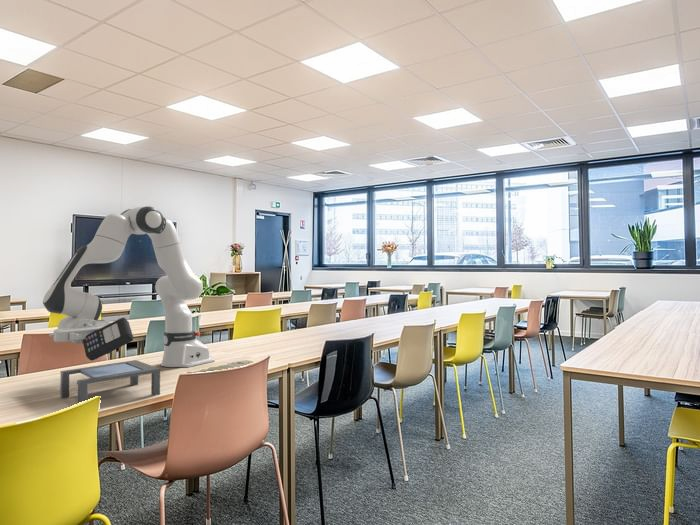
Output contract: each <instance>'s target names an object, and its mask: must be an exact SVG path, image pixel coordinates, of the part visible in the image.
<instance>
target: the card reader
mask: <svg viewBox="0 0 700 525" xmlns="http://www.w3.org/2000/svg"><path fill="white" fill-rule="evenodd" d="M133 341H134V335H133V331H132V328H131V326H130V322H129V321H128V319H127V318H125V317H121V318H119V319H117V320H114V321H113V322H111V323H110V324H108V325H106V326H104V327H102V328H100V329H98V330H96V331H94V332H92V333H90V334H88V335H87V336H86V337H85V339H84V340H83V344H82V345H83V348H84V353H85V356H86V358H87V360H90V361H95V360H97V359H99V358H101V357H103V356H106V355H107V354H109V353H112V352H113V351H115V350H117V349H119V348H121V347H123V346H125V345H128V344H129V343H131V342H133Z"/></svg>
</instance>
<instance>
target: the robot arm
mask: <svg viewBox="0 0 700 525" xmlns="http://www.w3.org/2000/svg"><path fill="white" fill-rule="evenodd" d="M131 235H140V236H141V235H147V236H148V237H149V238H150V240H151V243H152V247H153V251H154V253H155V259H156V261H157V262H156V263H157V265H158V266H159V268H161V269H162V270H163V272H164V273H165V275H163V276H161V277H159V278H158V279H157V281H156V283H155V286H154V288H155V291H156V294H157V295H158V296H159V297H160V300H161V301H160V302H161V304H162V307H163V310H164V330H165V331H164V333H163V344H164V348H163V356H162V359H161V362H160V363H161V364H160V366H162V367H165V368H166V367H168V368H190V367H194V366H200V365H204V364H208V363H213V362H215V357H213V356H211V355H210V350H209V348H208V346H207V345H206V344H204V343H202V342H201V341H200V340H199V339H197V338H196V337H200V336H201V333H200V331H195V330H193V313H192V310H190V309H189V307H188V304H187V301H191V300H195V299H198V298H199V297H200V296H201V295H202V293H203V290H204V284H203V282H202V280H201V279H200V278H199V277H198V276H197V275H196V274H195V272H194V271H193V270H192V268H191V267H190V265H189V263H188V261H187V260H186V256H185V253H184V249H183V246H182V243H181V239H180V237H179V234H178V230H177V229H176V226H175V225H174V223H173V221H171V220H170V219H169V218H165V217H164V215H163V213H162V212H161V211H160V210H159V209H158V208H156V207H154V206H136V207H134V208H128V209H126V210H124V211H123V212H121V213H109V214H107V215H106V216H105V217H104V219H102V221H101V223H100V224H99V226H98V228H97V230H96V233H95V235H94V237H93V239H92V240H91V242H89V243H88V244H86V245H82V246H80V247H79V248H78V249H77V250H76V251H75V252H74V254H73V255H72V257H71V258H70V259H69V261H68V262H67V263H66V265H65V267H64V268H63V269H62V271H61V273H60V274H59V275H58V277H57V278H56V280H55V281H54V283H53V284H52V285H51V286H50V288H49V289H48V290H47V291H46V292H45V294H44V297H43V300H42V304H43V306H44V307H45V309H46V310H47V312H48V313H51V314H52V313H53V314H58V315H59V314H60V315H65V317H63V318H62V319H60V320H59V321H58V324H57V329H54V330H53V332H51V333H49V334H48V336H49V337H52V338H53V341H54V342H55V343H64V342H73V343H75V344H78V345H83V340H84V339H85V337H86V336H87V335H88V334H90V333H92V332H94V331H96V330H98V329H100V328H102V327H104V326H106V325H108V324H110V323H112V322H110V321H109V320H108V319H99V318H100V317H101V314H102V311H103V304H102V300H101V298H100V297H99V296H98V295H95V294H92V293H89V292H85V291H81V290H78V289H76V288H75V289H74V288H72V287H71V283H72V282H73V281H74V279H75V277H76V276H77V274H78V272H79V271H80V269H81V268H82V267H83V266H85V265H88V264H89V265H90V264H109V263H113V262H116V261H117V260H118V259H119V258H120V257H121V256H122V254H123V252H124V250H125V247H126V245H127V241H128V240H129V238H130V236H131Z"/></svg>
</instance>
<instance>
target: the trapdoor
mask: <svg viewBox="0 0 700 525" xmlns="http://www.w3.org/2000/svg"><path fill="white" fill-rule="evenodd" d="M138 370H140V369H138V368H135V367H133V366H130V365H128V364H118V365H111V366H104V367H98V368H91V369H84V370H81V373H80V375H83V376H85V377H87V378H88V379H89V378H95V377H101V376H107V375H113V374H119V373H126V372H132V371H138Z"/></svg>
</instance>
